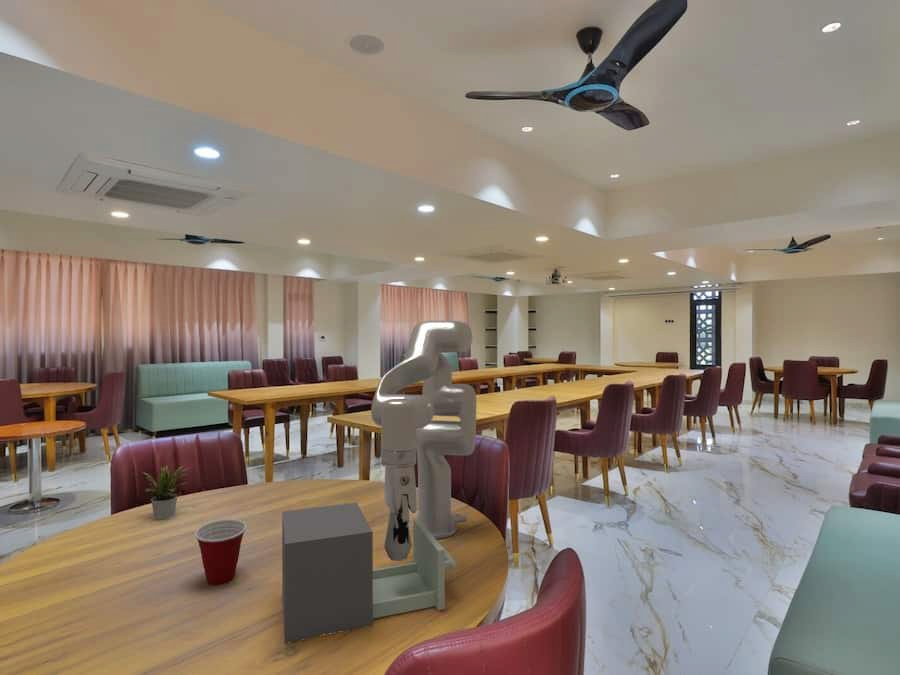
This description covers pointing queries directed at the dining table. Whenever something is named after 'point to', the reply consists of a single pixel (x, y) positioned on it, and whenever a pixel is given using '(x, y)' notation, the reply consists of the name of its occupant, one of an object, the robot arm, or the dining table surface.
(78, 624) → the dining table surface
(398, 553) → the salt shaker
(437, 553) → the drawer
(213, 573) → the plastic cup
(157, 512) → the house plant
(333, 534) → the cabinet
